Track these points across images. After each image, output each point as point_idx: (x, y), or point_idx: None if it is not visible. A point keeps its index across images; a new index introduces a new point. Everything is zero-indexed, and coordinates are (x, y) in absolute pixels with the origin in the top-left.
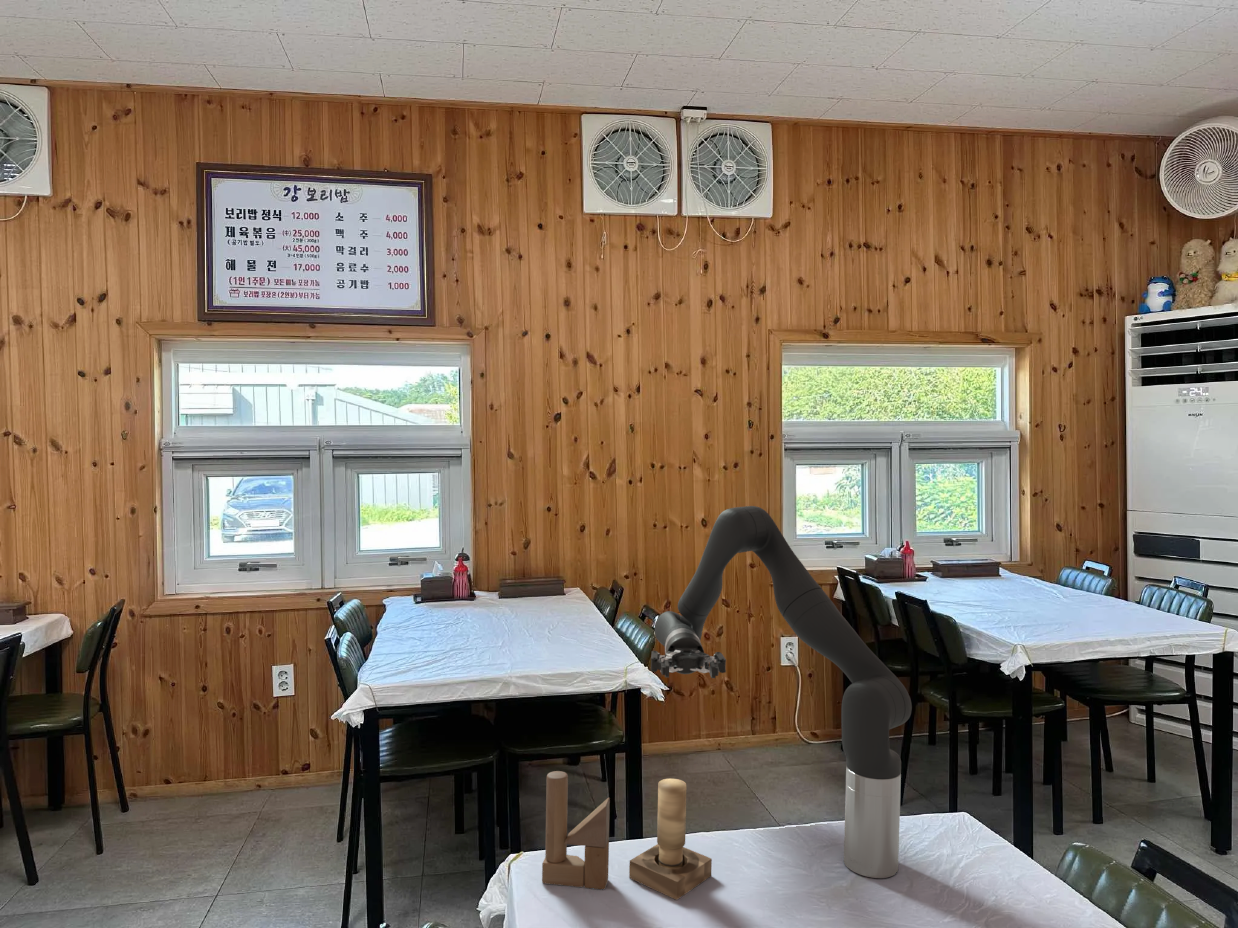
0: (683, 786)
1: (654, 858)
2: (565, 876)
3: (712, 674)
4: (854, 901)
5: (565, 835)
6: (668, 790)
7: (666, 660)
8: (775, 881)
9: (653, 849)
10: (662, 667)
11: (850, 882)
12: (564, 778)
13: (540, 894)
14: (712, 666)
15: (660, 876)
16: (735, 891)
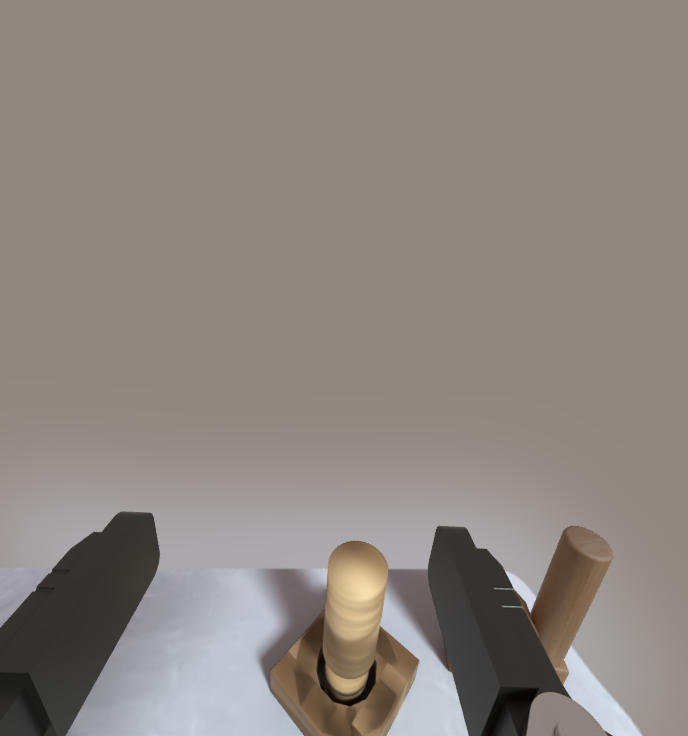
0: (335, 557)
1: (376, 671)
2: None
3: (152, 544)
4: None
5: (532, 610)
6: (365, 543)
7: (528, 722)
8: (162, 670)
9: (380, 714)
10: (487, 554)
11: None
12: (564, 531)
13: None
14: (138, 515)
15: None
16: (246, 634)
